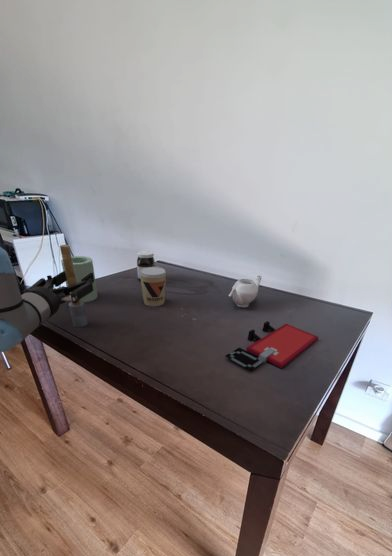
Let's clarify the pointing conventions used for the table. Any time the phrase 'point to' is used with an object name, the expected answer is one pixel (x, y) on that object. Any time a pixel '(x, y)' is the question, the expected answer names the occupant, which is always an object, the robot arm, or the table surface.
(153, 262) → the spread jar
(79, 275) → the green cylindrical holder
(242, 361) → the red board with handle
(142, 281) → the coffee cup
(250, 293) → the teapot
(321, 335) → the table surface
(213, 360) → the table surface
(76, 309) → the bottle brush
